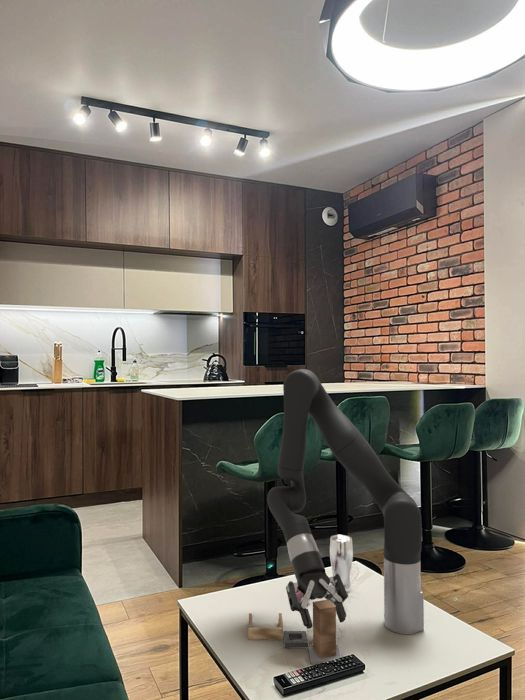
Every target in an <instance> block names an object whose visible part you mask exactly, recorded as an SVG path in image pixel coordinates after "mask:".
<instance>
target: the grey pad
mask: <svg viewBox="0 0 525 700" xmlns="http://www.w3.org/2000/svg"><path fill="white" fill-rule="evenodd" d="M339 648H340V647H339V645H338V644H337V643H336V656H331V657H326V658H321V659H320V658H319V656H318V655H317V654H316V653H315V652H314V650H313V644H308V648H307V649H308V653H309V659H310V665H321V664H320V663H324V662H328V661H331V660H334V659H338V658H342V655H341V651H340V649H339Z"/></svg>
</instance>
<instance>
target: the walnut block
mask: <svg viewBox="0 0 525 700" xmlns="http://www.w3.org/2000/svg"><path fill="white" fill-rule="evenodd" d="M336 644H337V613H336V606H335V605H334V604H333V603H332V602H331V601H329V600H328V599H321V600H317V601H315V600H314V601H312V645H313V650H314V652H315V653H316V654H317V655H318V656H319V658H320V659H321V658H326V657H331V656H336Z"/></svg>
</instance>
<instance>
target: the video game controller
mask: <svg viewBox="0 0 525 700" xmlns="http://www.w3.org/2000/svg"><path fill="white" fill-rule="evenodd" d="M296 596H297V600H298V603H301V599H302V596H303V593H302V592H301V591H300V590H299V589H298V588H297V591H296Z"/></svg>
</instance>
